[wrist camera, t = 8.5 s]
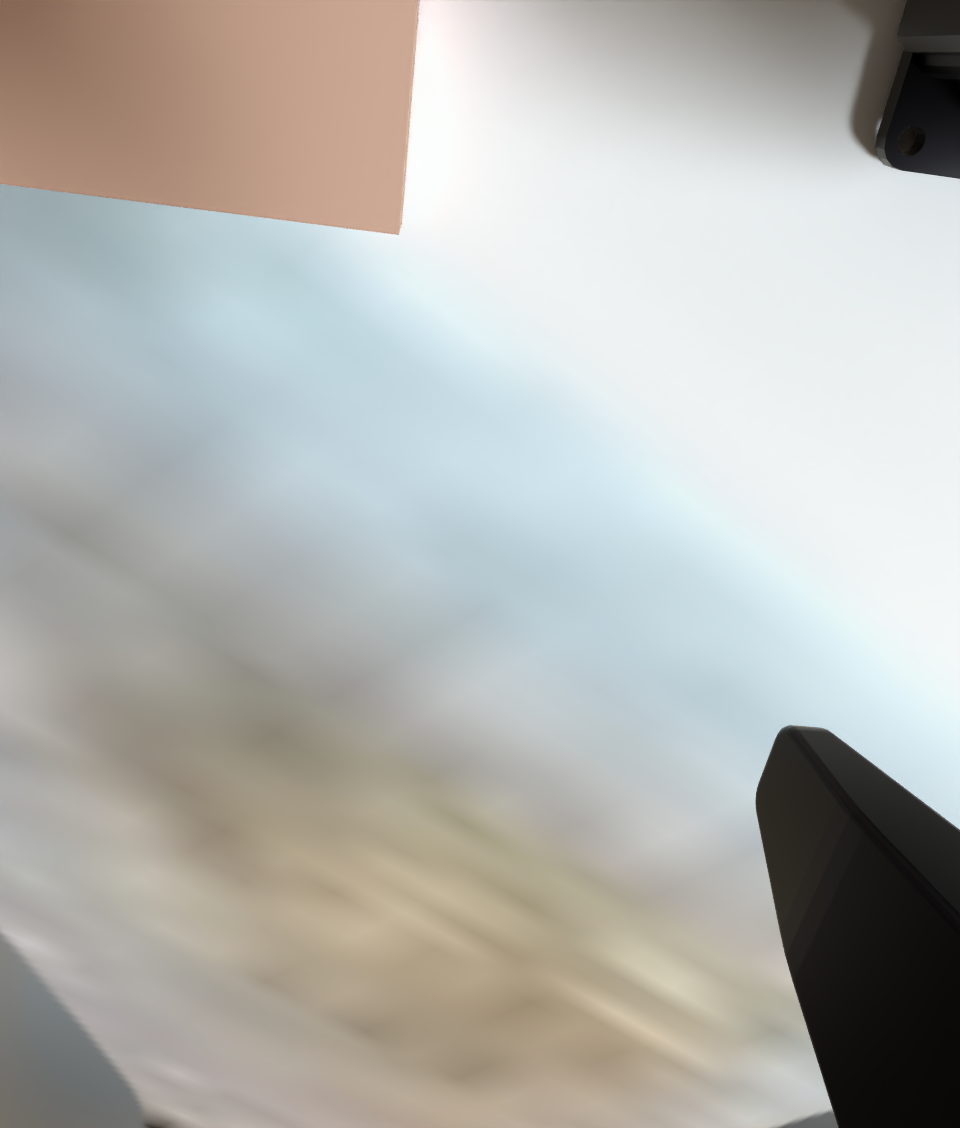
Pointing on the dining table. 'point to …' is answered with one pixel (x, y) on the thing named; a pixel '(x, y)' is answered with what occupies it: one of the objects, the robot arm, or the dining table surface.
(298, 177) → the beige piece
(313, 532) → the dining table surface
